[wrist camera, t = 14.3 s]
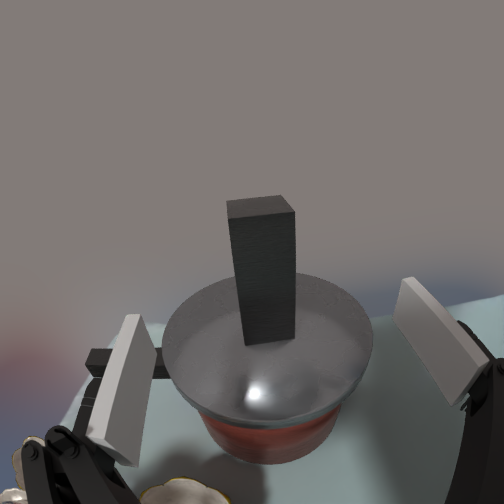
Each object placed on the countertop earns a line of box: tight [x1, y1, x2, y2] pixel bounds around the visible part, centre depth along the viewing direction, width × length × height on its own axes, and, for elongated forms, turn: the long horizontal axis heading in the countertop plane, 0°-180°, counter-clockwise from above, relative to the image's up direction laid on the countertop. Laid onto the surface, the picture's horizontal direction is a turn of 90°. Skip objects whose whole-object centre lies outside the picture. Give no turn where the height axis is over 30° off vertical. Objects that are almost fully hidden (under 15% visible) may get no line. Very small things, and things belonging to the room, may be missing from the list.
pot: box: [85, 347, 342, 465], centre depth 25 cm, size 27×17×12 cm, turn 96°
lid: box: [162, 195, 373, 430], centre depth 20 cm, size 18×18×12 cm
